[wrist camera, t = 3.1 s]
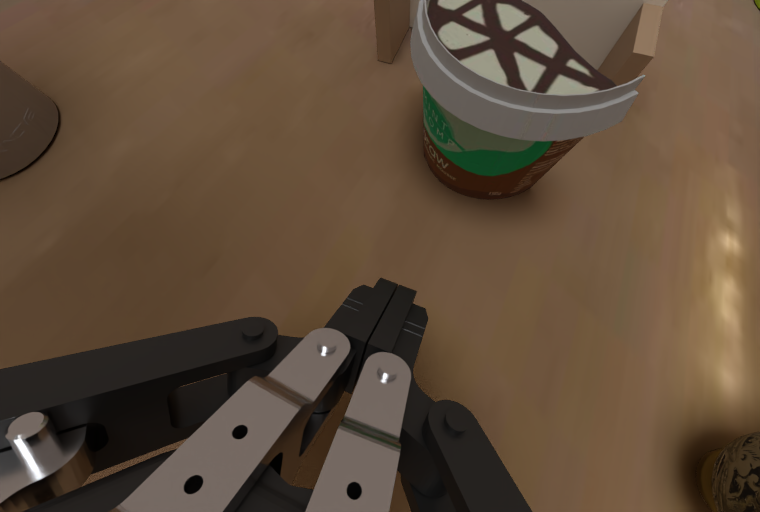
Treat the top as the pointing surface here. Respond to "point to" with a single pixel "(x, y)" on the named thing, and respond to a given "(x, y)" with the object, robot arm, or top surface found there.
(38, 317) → the top surface
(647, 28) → the back stop bracket
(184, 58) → the top surface
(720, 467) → the cup
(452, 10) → the food container
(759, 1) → the soap dispenser
